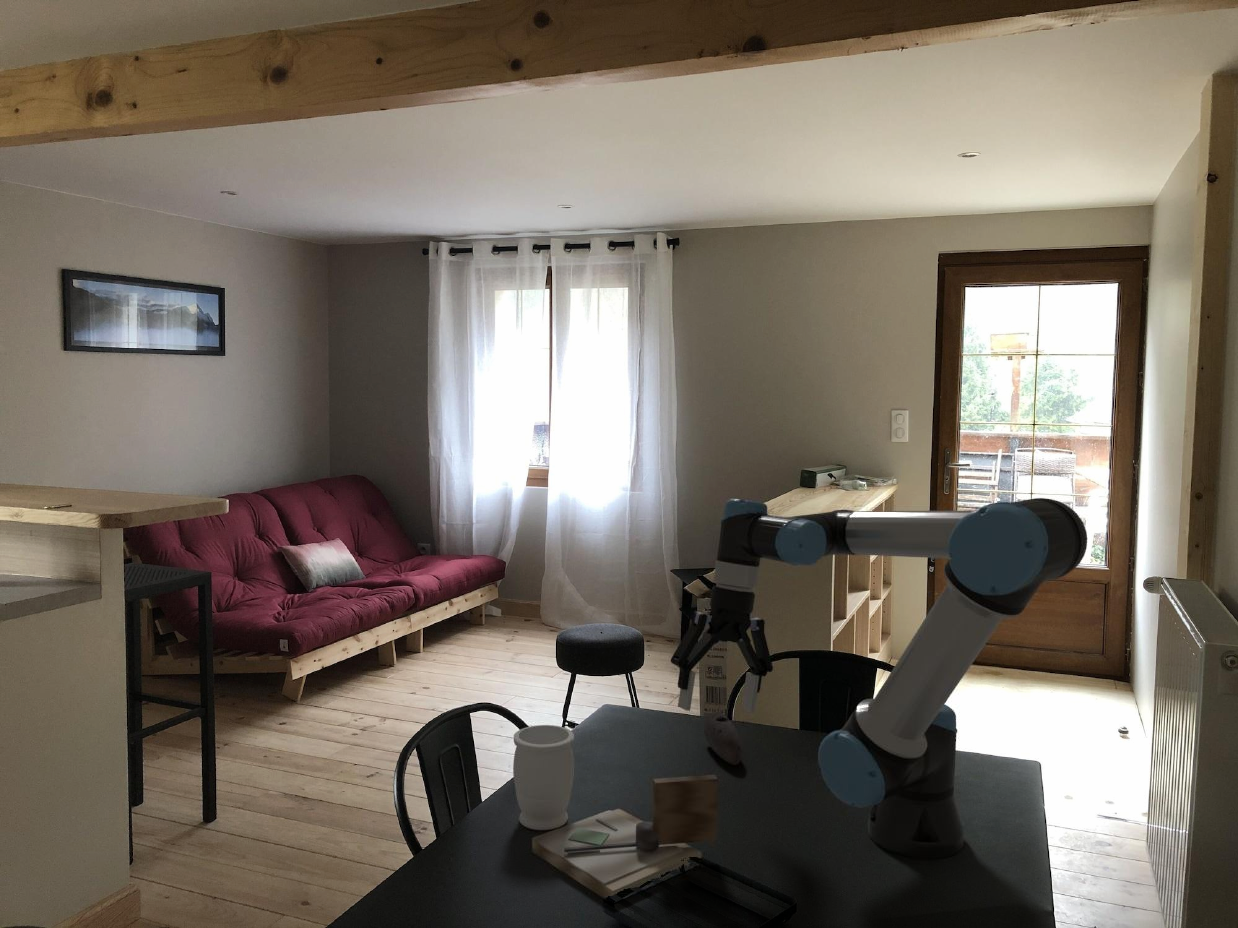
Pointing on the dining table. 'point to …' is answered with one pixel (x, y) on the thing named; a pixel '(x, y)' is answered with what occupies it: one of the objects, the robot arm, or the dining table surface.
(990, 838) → the dining table surface
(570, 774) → the jar
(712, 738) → the perforated stone tool
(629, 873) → the light wood flat board
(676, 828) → the peg
